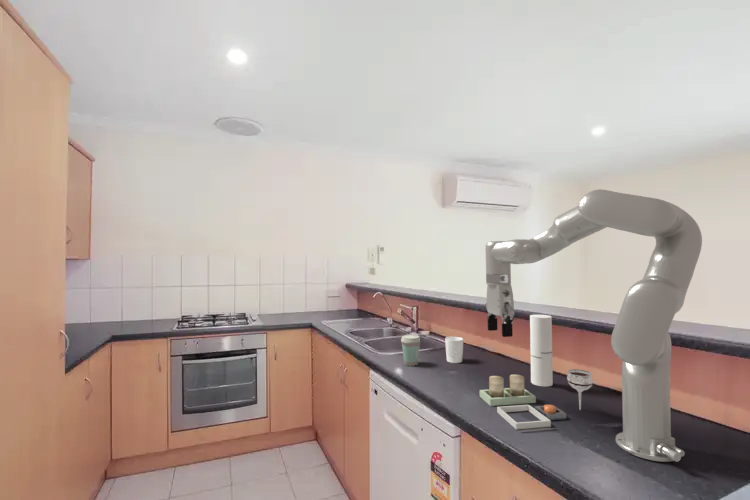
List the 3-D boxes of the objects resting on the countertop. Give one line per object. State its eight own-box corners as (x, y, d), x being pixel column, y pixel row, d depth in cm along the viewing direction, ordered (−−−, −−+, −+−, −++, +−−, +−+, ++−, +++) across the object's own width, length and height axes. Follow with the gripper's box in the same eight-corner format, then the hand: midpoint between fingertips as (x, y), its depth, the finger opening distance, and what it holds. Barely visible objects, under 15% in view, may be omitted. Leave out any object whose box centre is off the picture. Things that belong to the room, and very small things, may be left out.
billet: (506, 402, 118) (506, 380, 118) (493, 403, 117) (493, 380, 117) (499, 397, 122) (499, 375, 122) (487, 397, 122) (486, 376, 122)
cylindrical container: (555, 389, 131) (553, 318, 131) (533, 388, 132) (532, 317, 132) (549, 382, 138) (548, 314, 138) (529, 381, 139) (528, 314, 139)
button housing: (566, 422, 106) (566, 413, 106) (546, 423, 105) (546, 415, 105) (553, 413, 112) (553, 405, 112) (534, 414, 111) (534, 406, 111)
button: (558, 417, 107) (558, 408, 107) (548, 418, 107) (548, 409, 107) (551, 413, 110) (551, 404, 110) (541, 413, 110) (541, 404, 110)
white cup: (441, 359, 169) (441, 337, 169) (456, 357, 172) (455, 335, 172) (452, 364, 162) (452, 341, 162) (467, 362, 165) (466, 339, 165)
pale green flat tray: (535, 405, 117) (535, 396, 117) (490, 409, 115) (490, 399, 115) (522, 396, 125) (522, 387, 125) (479, 399, 123) (479, 390, 123)
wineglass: (594, 411, 113) (593, 371, 113) (592, 419, 107) (592, 377, 107) (568, 406, 117) (568, 367, 117) (566, 414, 111) (565, 373, 111)
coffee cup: (418, 367, 158) (418, 339, 158) (399, 366, 160) (398, 338, 160) (422, 362, 166) (422, 334, 166) (403, 360, 168) (403, 333, 168)
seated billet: (527, 400, 119) (527, 378, 119) (514, 401, 118) (514, 379, 118) (520, 395, 123) (519, 374, 123) (507, 396, 123) (507, 374, 123)
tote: (550, 430, 101) (550, 420, 101) (516, 432, 100) (516, 423, 100) (528, 412, 112) (528, 404, 112) (497, 415, 111) (497, 406, 111)
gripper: (523, 281, 112) (525, 338, 112) (496, 277, 129) (497, 327, 129) (500, 281, 111) (501, 339, 111) (476, 278, 128) (477, 328, 128)
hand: (499, 333), depth 120 cm, fingers open, 9 cm apart
